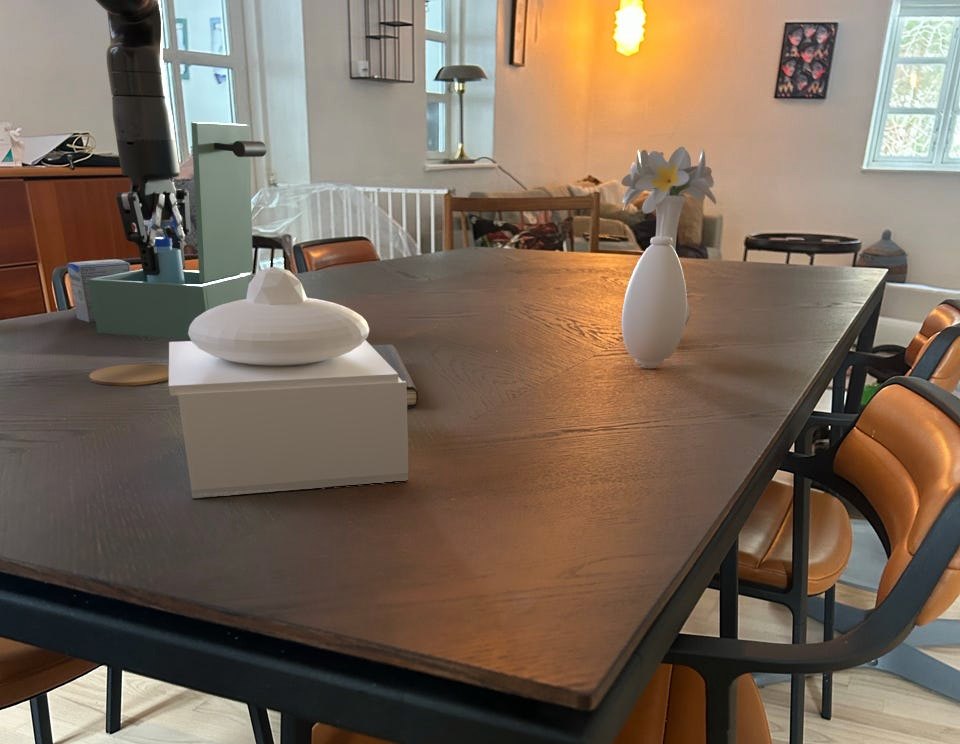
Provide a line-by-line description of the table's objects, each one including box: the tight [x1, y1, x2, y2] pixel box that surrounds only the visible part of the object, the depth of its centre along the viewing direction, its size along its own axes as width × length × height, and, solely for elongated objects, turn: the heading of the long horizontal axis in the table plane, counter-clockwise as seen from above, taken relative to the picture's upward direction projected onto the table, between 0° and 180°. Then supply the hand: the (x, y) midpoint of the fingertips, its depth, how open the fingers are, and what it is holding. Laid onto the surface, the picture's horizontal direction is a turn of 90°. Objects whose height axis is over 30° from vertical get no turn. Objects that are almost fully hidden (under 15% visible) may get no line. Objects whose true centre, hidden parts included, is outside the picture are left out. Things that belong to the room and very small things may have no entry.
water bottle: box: [147, 236, 185, 284], centre depth 130 cm, size 5×5×12 cm
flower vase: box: [621, 146, 719, 326], centre depth 130 cm, size 13×18×25 cm
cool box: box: [88, 268, 252, 340], centre depth 131 cm, size 18×14×8 cm
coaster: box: [88, 363, 169, 387], centre depth 109 cm, size 10×10×1 cm
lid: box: [190, 121, 268, 283], centre depth 122 cm, size 19×14×5 cm
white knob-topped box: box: [168, 266, 410, 495], centre depth 78 cm, size 18×18×16 cm
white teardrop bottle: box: [621, 213, 688, 370], centre depth 113 cm, size 8×8×18 cm
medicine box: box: [66, 258, 132, 323], centre depth 138 cm, size 8×4×9 cm, turn 134°
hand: (164, 271), depth 129 cm, fingers open, 6 cm apart
